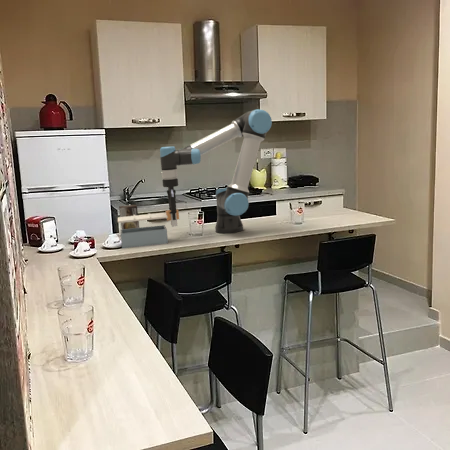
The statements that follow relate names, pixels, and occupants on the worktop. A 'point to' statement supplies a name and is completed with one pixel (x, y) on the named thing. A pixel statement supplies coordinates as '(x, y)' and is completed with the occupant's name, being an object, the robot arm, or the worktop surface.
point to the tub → (144, 236)
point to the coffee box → (129, 211)
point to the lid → (147, 217)
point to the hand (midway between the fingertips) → (174, 225)
